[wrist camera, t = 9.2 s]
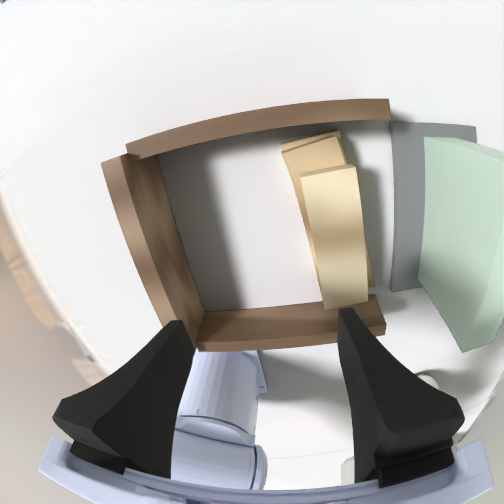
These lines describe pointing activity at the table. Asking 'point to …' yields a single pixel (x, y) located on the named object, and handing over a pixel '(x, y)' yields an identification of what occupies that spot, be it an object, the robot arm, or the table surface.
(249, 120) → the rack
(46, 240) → the table surface
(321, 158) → the offcuts
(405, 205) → the mat
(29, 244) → the table surface
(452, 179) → the pale green block
